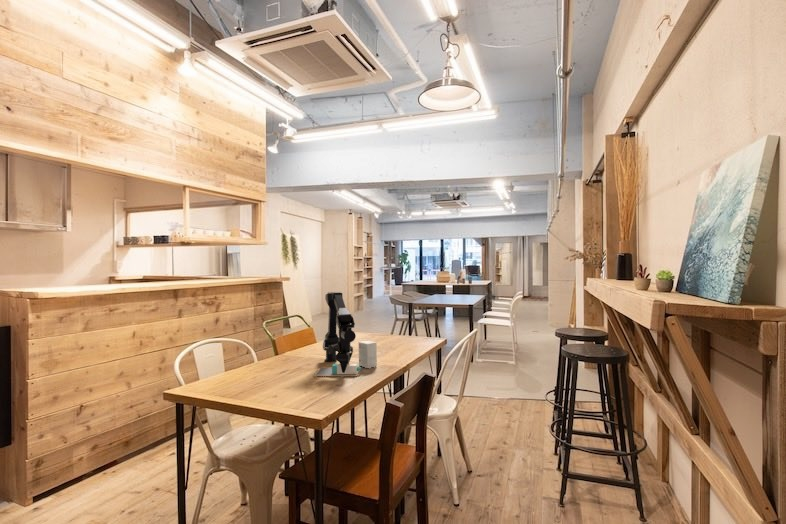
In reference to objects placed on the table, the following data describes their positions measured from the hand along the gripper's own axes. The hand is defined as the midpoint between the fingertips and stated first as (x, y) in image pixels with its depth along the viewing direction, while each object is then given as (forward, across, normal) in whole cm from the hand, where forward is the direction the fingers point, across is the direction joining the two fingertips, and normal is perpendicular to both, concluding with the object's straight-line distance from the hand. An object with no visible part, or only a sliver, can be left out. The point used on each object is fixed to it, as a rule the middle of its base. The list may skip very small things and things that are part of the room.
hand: (344, 370), depth 211 cm
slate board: (+2, -3, -4) cm, 5 cm away
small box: (+2, -15, +10) cm, 18 cm away
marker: (+1, 0, 0) cm, 1 cm away
